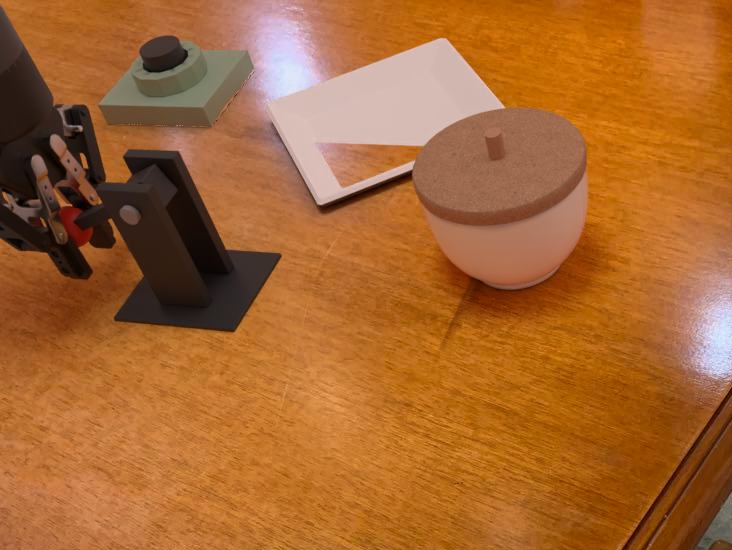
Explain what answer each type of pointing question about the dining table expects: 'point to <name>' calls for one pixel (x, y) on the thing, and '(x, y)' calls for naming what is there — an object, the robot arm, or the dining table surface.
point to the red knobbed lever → (83, 222)
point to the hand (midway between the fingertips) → (92, 260)
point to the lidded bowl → (505, 194)
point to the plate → (378, 112)
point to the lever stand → (180, 252)
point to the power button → (162, 54)
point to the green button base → (178, 89)
